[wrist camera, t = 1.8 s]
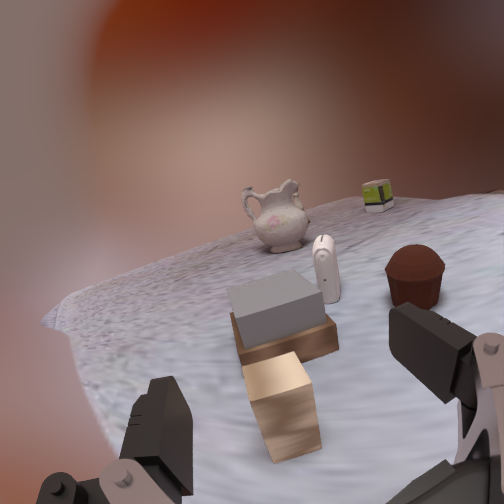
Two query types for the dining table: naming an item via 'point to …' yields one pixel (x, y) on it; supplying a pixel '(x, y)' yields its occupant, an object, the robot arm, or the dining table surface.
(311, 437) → the birch pillar block
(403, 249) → the muffin
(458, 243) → the dining table surface
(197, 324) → the dining table surface
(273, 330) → the slate top block
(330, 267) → the photo printer
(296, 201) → the candle holder
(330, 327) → the walnut base block
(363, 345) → the dining table surface
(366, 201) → the tea box
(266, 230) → the ceramic pitcher
